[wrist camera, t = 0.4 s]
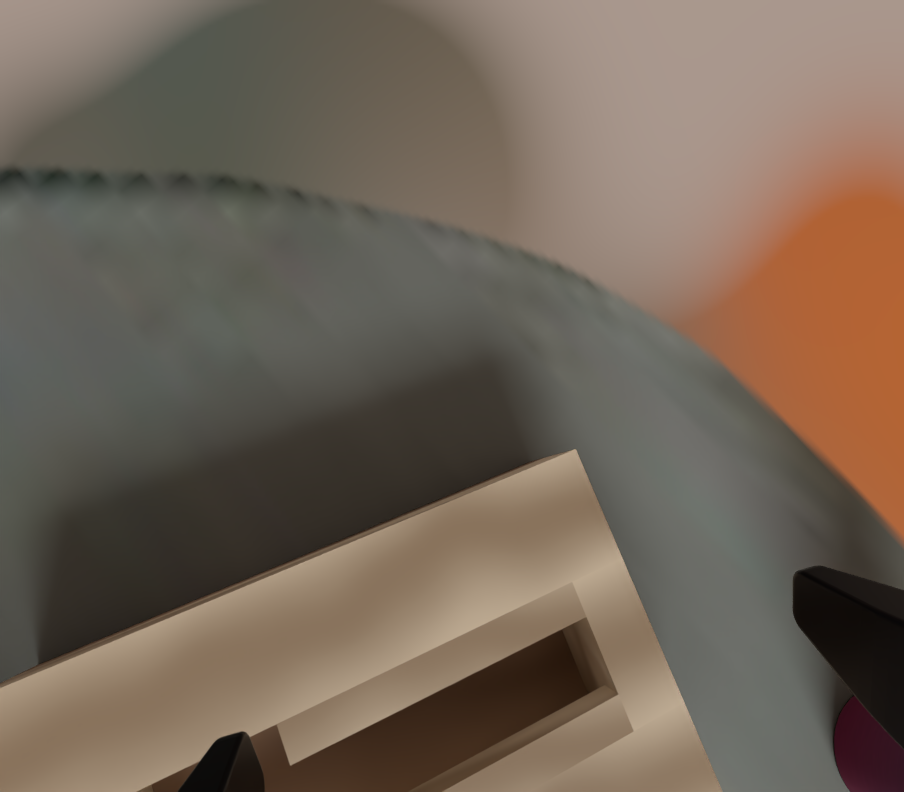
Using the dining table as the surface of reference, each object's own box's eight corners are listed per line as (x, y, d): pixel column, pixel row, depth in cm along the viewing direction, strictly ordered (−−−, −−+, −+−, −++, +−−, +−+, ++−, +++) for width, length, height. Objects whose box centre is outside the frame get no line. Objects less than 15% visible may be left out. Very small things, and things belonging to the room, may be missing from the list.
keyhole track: (654, 757, 22) (736, 825, 17) (145, 1059, 18) (65, 1268, 13) (531, 461, 24) (575, 449, 19) (37, 665, 19) (-70, 717, 14)
